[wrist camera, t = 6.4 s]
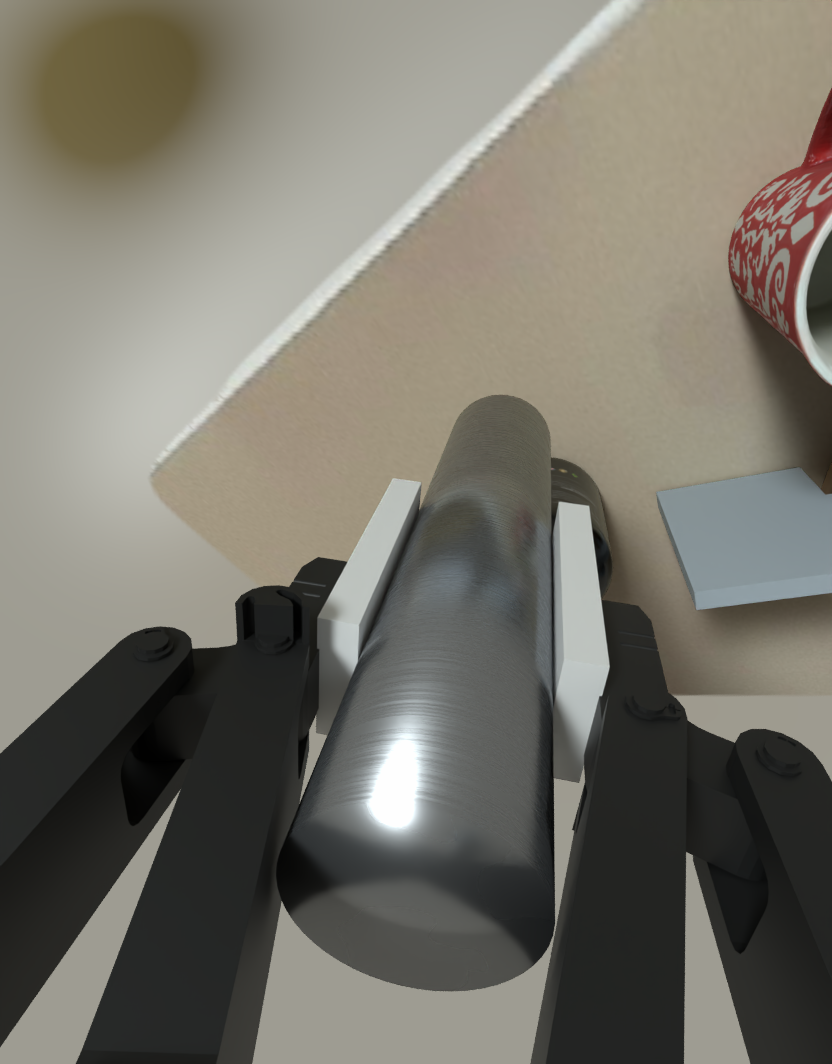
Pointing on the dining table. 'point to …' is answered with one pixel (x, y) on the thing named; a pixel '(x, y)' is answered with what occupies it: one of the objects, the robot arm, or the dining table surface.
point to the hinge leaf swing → (751, 538)
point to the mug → (792, 251)
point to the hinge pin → (445, 736)
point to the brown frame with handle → (827, 482)
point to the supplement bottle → (582, 490)
